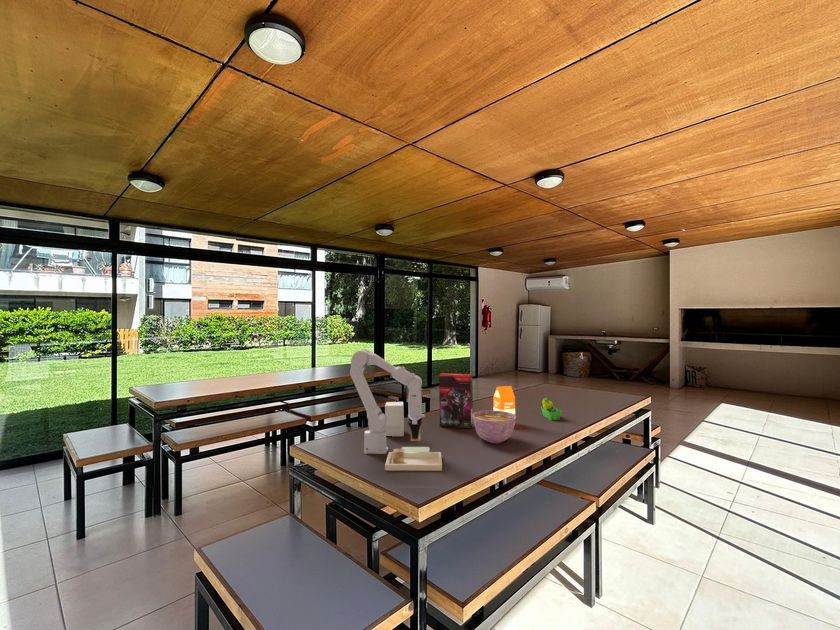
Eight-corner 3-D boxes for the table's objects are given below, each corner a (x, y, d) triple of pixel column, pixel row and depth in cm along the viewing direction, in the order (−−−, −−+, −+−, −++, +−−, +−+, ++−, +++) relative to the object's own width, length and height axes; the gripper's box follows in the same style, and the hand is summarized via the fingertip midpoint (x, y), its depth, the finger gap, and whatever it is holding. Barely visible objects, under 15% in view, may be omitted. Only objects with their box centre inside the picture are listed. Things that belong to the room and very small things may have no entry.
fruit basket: (562, 420, 218) (562, 399, 218) (547, 421, 216) (547, 400, 216) (552, 415, 229) (552, 395, 229) (538, 415, 228) (538, 396, 228)
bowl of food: (464, 436, 189) (464, 412, 189) (501, 432, 196) (500, 408, 196) (486, 450, 171) (486, 423, 171) (525, 444, 178) (525, 418, 178)
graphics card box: (438, 427, 206) (438, 374, 206) (441, 423, 213) (441, 372, 213) (471, 429, 201) (471, 375, 201) (473, 426, 208) (473, 373, 208)
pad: (400, 456, 163) (400, 454, 163) (402, 448, 173) (402, 446, 173) (429, 456, 163) (429, 455, 163) (429, 448, 173) (429, 446, 173)
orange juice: (493, 422, 214) (493, 385, 214) (507, 421, 216) (507, 384, 216) (500, 426, 206) (500, 388, 206) (515, 425, 209) (515, 387, 209)
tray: (385, 471, 147) (385, 464, 147) (388, 458, 161) (388, 452, 161) (442, 471, 147) (442, 465, 147) (440, 458, 161) (440, 452, 161)
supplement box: (404, 431, 199) (403, 401, 199) (403, 436, 190) (403, 405, 190) (385, 431, 199) (385, 401, 199) (384, 436, 190) (384, 405, 190)
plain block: (393, 465, 152) (393, 452, 152) (394, 461, 156) (394, 448, 156) (403, 465, 152) (403, 452, 152) (404, 461, 156) (404, 448, 156)
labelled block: (410, 440, 166) (410, 428, 166) (411, 438, 170) (411, 426, 170) (420, 440, 166) (420, 428, 166) (420, 438, 170) (420, 426, 170)
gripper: (424, 408, 161) (424, 442, 161) (424, 400, 175) (424, 431, 175) (407, 408, 161) (407, 442, 161) (408, 401, 176) (409, 431, 175)
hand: (415, 436), depth 168 cm, fingers closed on labelled block, 4 cm apart
